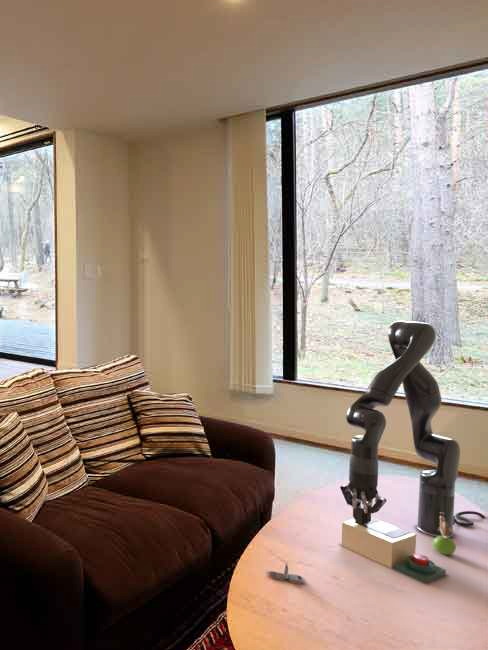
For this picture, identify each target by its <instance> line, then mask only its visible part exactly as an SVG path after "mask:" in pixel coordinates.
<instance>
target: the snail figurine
mask: <svg viewBox="0 0 488 650" xmlns="http://www.w3.org/2000/svg"><path fill="white" fill-rule="evenodd" d="M441 514H444V512H440V531H441V534H442V536H438V537H434V539H433V541H432V545H433V547H434V549H435V550H436V551H437V552H438V553H440V554H442V555H446V556H447V555H452V554H453V553H454V552H455V551H456V548H457V546H456V544H455V541H454V540H453V539H451V537H450V538H449V537H448V534H449V524H448V523H447V522H446V521H444V520H445V518H444V517H443V516H441Z"/></svg>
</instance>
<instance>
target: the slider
mask: <svg viewBox="0 0 488 650" xmlns="http://www.w3.org/2000/svg"><path fill="white" fill-rule="evenodd" d="M363 512H364V511H363V505H362V504H361V505H359V506H356V520H355V523H358V524H360V525H364V523H363Z"/></svg>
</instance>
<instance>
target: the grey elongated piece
mask: <svg viewBox="0 0 488 650" xmlns="http://www.w3.org/2000/svg"><path fill="white" fill-rule="evenodd" d="M269 577H270V578H272V579H275V580H279V581H285V580H287V581H289V582H290V583H294V584H304V578H303V576H302V575H299V574H294V573H289V564H288V563H287V562H285V563H284V571H283V573H282V572H281V573H280V572H277V571H276V572H275V571H269Z"/></svg>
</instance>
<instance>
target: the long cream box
mask: <svg viewBox="0 0 488 650" xmlns="http://www.w3.org/2000/svg"><path fill="white" fill-rule="evenodd" d="M341 546H342V547H344V548H347V549H349V550H351V551H353V552H355V553H357V554H359V555H361V556H363V557H366V558H367V559H368V558H369V559H370V560H373V561H375V562H377V563H379V564H381V565H383V566H386V567H389V568H390V569H392V568H395V564H398V563H400V562H403V561H406V557H407V556H410V555H412V556H413V554H416V550H417V549H416V548H417V534H416V533H414V532H410V531H408V530H406V529H403V528H400V527H397V526H395V525H393V524H391V523H388V522H385V521H382V520H380V519H378V518H375V517H373V516H371V521H370V522H369V523H368V524H364V525H360V524H358V523H355V520H354V518H351V519H347V520H345V521H342V522H341Z"/></svg>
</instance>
